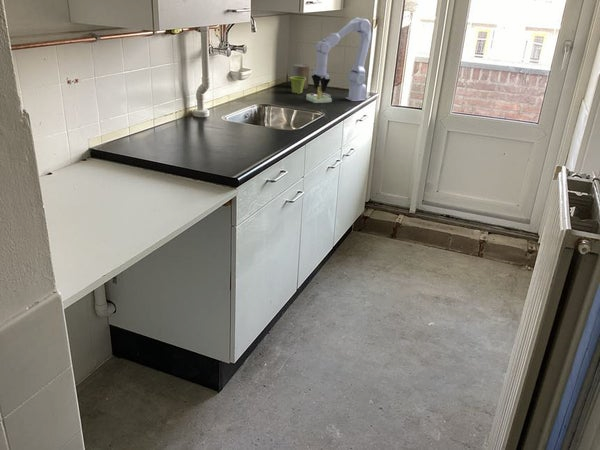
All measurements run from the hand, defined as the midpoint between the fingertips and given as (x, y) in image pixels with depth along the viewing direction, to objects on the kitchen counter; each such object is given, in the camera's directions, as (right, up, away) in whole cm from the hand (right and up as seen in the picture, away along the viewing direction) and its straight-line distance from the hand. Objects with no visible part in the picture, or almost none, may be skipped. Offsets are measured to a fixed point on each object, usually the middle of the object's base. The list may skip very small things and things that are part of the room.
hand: (319, 89), depth 296 cm
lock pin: (0, -5, +3) cm, 6 cm away
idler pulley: (-4, -2, +11) cm, 11 cm away
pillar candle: (-11, +10, +34) cm, 37 cm away
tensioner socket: (+3, -1, +13) cm, 13 cm away
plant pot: (-13, +3, +19) cm, 23 cm away
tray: (-1, -6, +3) cm, 6 cm away
